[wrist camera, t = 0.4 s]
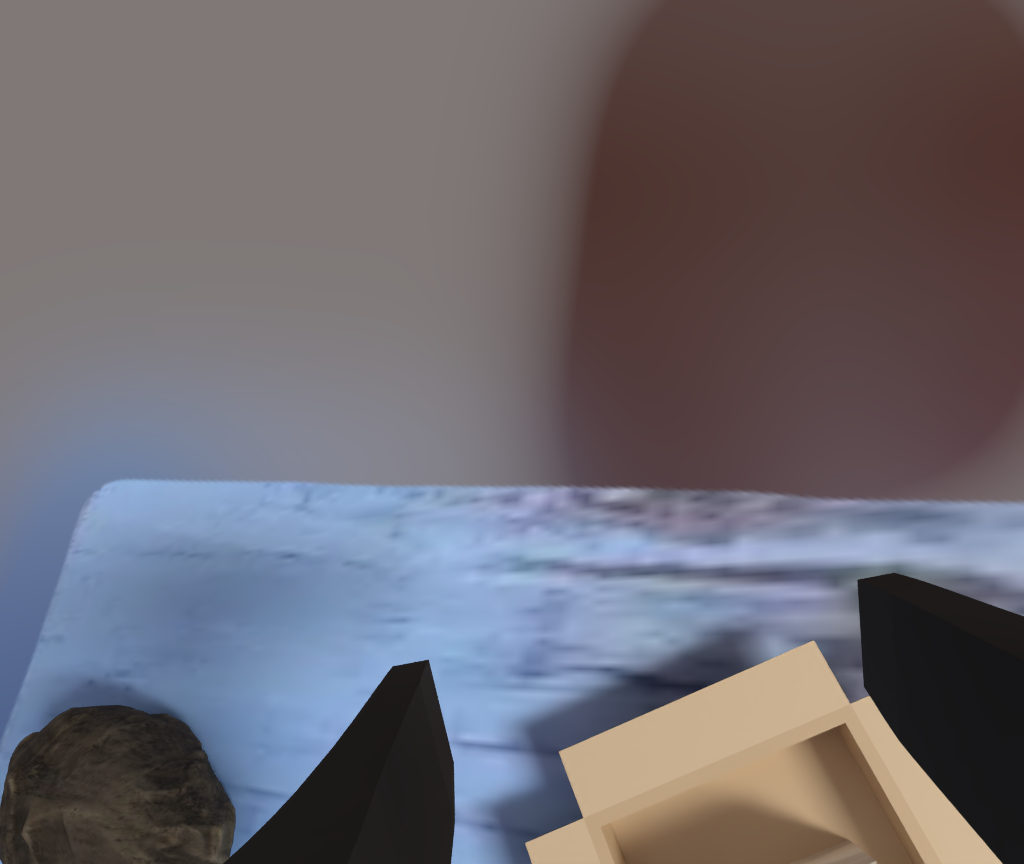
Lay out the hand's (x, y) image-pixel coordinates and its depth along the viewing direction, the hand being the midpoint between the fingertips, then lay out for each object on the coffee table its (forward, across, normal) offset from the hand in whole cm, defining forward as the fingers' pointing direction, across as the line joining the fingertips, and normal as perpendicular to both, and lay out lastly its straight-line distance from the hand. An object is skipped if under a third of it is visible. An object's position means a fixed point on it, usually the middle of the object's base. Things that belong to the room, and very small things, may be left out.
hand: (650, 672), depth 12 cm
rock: (+25, +25, +21) cm, 42 cm away
